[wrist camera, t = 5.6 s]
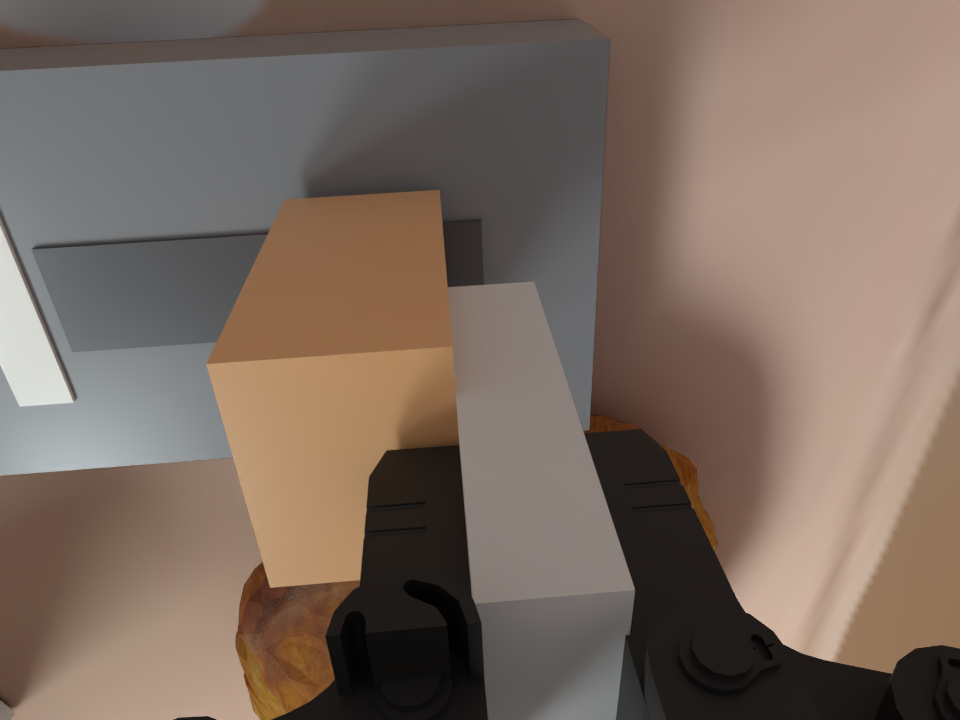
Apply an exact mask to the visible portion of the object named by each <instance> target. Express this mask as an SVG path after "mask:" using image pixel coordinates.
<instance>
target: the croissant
mask: <svg viewBox="0 0 960 720" xmlns="http://www.w3.org/2000/svg"><path fill="white" fill-rule="evenodd" d="M633 429H638V428H637V427H636V426H634V425H633V424H632V423H620V422H617V421H615V420H612V419H610V418H607V417H604V416H590V428H589V430H586V431H583V432H584V433H593V432H606V431H620V430H633ZM660 446H661V447H662V448H664V449H665V450H666V451H667V452H668V455H669V457H670V459H671V461H672V463H673V465H674V467H675V469H676V471H677V474H678V476H679V478H680V484H681V485H683V486H684V488H685V491H686V493H687V495H688V497H689V499H690V501H691V507H692V509H694V510H695V512H696V514H697V516H698V518H699V520H700V522H701V524H702V526H703V529H704V531H705V533H706V535H707V537H708V539H709V541H710V543H711V546H712V548H713V550H714V552H715V550H716V548H717V544H718V542H717V540H716V537H715V527H714V524H713V522H712V521H711V519H710V517H709V515H708V514H707V512H706V510H705V509H704V507H703V505H702V503H701V500H700V498H699V496H698V479H697V469H696V468H695V467H694V465H693V464H692V463H691V461H690V460H689V459H688V458H686V457H685V456H683V455H682V454H680V453H678V452H676V451H674V450H672V449H669V448H667V447H665V446H662V445H660ZM359 586H360V580H356V581H344V582H332V583H321V584H309V585H297V586H285V587H274V588H270V586H269V582H268V579H267V575H266V572H265V568H264V565H263V562H262V563H261V564H260V565H259V566H257V567H256V568H255V570H254V571H253V572H252V574H251V575H250V577H249V578H248V580H247V581H246V583H245V584H244V588H243V592H242V597H241V602H240V607H239V625H238V631H237V634H236V650H237V653H238V656H239V659H240V662H241V665H242V667H243V670H244V678H245V682H246V685H247V688H248V691H249V693H250V700H251V703H252V707H253V710H254V712H255V713H256V715H257V716H258V717H259V719H260V720H271V719H274V718H276V717H279V716H281V715H284V714H286V713H289V712H291V711H293V710H294V709H296V708H298V707H300V706H302V705H304V704H306V703H308V702H310V701H311V700H312V699H314V698H315V697H316V696H317V695H319V694H320V693H321V692H322V691H324V690H325V689H326V688H327V687H329V685H330V684H331V683H332V682H333V681H334V679H335V677H334V673H333V668H332V664H331V660H330V655H329V651H328V647H327V642H326V638H325V636H326V633H327V630H328V627H329V624H330V621H331V619H332V616H333V613H334V611H335V610H336V609H337V607H338V606H339V605H340V604H341V603H342V602H343V601H344V599H345V598H346V597H347V596H348V595H349V594H350V593H351V591H352V590H354V589H356V588H357V587H359Z"/></svg>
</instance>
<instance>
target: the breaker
mask: <svg viewBox="0 0 960 720" xmlns="http://www.w3.org/2000/svg"><path fill="white" fill-rule="evenodd" d="M206 365H207V369H208V372H209V376H210V379H211V383H212V386H213V390H214V393H215V397H216V400H217V404H218V407H219V411H220V414H221V418H222V421H223V425H224V428H225V432H226V435H227V439H228V442H229V446H230V449H231V453H232V456H233V460H234V463H235V467H236V470H237V474H238V477H239V481H240V484H241V488H242V491H243V495H244V498H245V502H246V505H247V509H248V512H249V516H250V519H251V523H252V526H253V530H254V533H255V537H256V540H257V544H258V547H259V551H260V554H261V558H262V561H263V565H264V568H265V572H266V575H267V579H268V582H269V586H270V588H274V587H285V586H297V585H309V584H321V583H332V582H344V581H356V580H360V576H361V565H362V553H363V541H364V538H365V533H364V529H365V517H366V512H367V507H366V506H367V494H368V482H369V476H370V475H371V473H372V471H373V470H374V468H375V467H376V465H377V464H378V462H379V461H380V459H381V458H382V456H383V455H384V453H385V452H386V450H399V449H412V448H425V447H439V446H452V445H459V436H458V420H457V405H456V389H455V375H454V360H453V346H452V334H451V321H450V309H449V297H448V285H447V273H446V261H445V249H444V237H443V224H442V212H441V200H440V190H429V191H413V192H397V193H381V194H365V195H348V196H332V197H316V198H300V199H284V201H283V203H282V205H281V208H280V210H279V212H278V214H277V216H276V218H275V220H274V222H273V224H272V226H271V229H270V231H269V233H268V235H267V237H266V239H265V241H264V243H263V245H262V248H261V250H260V252H259V254H258V256H257V258H256V260H255V262H254V264H253V267H252V269H251V271H250V273H249V275H248V277H247V279H246V281H245V283H244V286H243V288H242V290H241V292H240V294H239V296H238V298H237V300H236V302H235V305H234V307H233V309H232V311H231V313H230V315H229V317H228V319H227V321H226V324H225V326H224V328H223V330H222V332H221V334H220V336H219V338H218V340H217V342H216V345H215V347H214V349H213V351H212V353H211V355H210V357H209V359H208V361H207V364H206Z"/></svg>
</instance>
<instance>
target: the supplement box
mask: <svg viewBox="0 0 960 720" xmlns="http://www.w3.org/2000/svg"><path fill="white" fill-rule="evenodd" d="M13 715H14V711H13V710H12V709H11V708H10V707H8V706H7V705H6V704H5V703H3V702H2V701H0V720H11V719H12V717H13Z"/></svg>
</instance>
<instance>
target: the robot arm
mask: <svg viewBox="0 0 960 720" xmlns="http://www.w3.org/2000/svg"><path fill="white" fill-rule="evenodd" d="M448 297H449V309H450V321H451V334H452V346H453V360H454V375H455V389H456V405H457V420H458V436H459V445H452V446H439V447H425V448H412V449H399V450H386V452H385V453H384V455H383V456H382V458H381V459H380V461H379V462H378V464H377V465H376V467H375V468H374V470H373V471H372V473H371V475H370V476H369V482H368V494H367V506H366V507H367V512H366V517H365V529H364V533H365V538H364V541H363V553H362V565H361V576H360V586H359V587H357V588H356V589H354V590H352V591H351V593H350V594H349V595H348V596H347V597H346V598H345V599H344V601H343V602H342V603H341V604H340V605H339V606H338V607H337V609H336V610H335V611H334V613H333V616H332V619H331V621H330V624H329V627H328V630H327V633H326V636H325V638H326V642H327V647H328V651H329V655H330V660H331V664H332V668H333V673H334V677H335V679H334V681H333V682H332V683H331V684H330V685H329V687H327V688H326V689H325V690H324V691H322V692H321V693H320V694H319V695H317V696H316V697H315V698H314V699H312V700H311V701H310V702H308V703H306V704H304V705H302V706H300V707H298V708H296V709H294V710H293V711H291V712H289V713H286V714H284V715H281V716H279V717H276V718H274V719H271V720H960V649H958V648H954V647H948V646H943V645H940V646H932V647H925V648H917V649H914V650H913V651H912V652H910V653H909V654H907V655H906V656H904V657H903V658H902V659H900V660H899V661H898V662H897V664H896V666H895V669H894V671H893V674H890V673H885V672H880V671H875V670H870V669H865V668H860V667H855V666H850V665H845V664H840V663H835V662H830V661H825V660H822V659H818V658H815V657H812V656H808V655H805V654H801V653H799V652H797V651H795V650H793V649H791V648H789V647H787V646H785V645H783V644H782V643H781V641H780V640H779V639H778V637H777V636H776V635H775V633H774V632H773V631H772V630H771V629H769V628H768V627H767V626H765V625H764V624H762V623H761V622H760V621H758V620H757V619H756V618H754V617H753V616H752V615H750V614H748V613H745V611H744V610H743V608H742V606H741V605H740V603H739V602H738V600H737V598H736V596H735V594H734V592H733V590H732V588H731V586H730V584H729V581H728V579H727V577H726V575H725V573H724V571H723V569H722V567H721V565H720V562H719V560H718V558H717V556H716V554H715V552H714V550H713V548H712V546H711V543H710V541H709V539H708V537H707V535H706V533H705V531H704V529H703V526H702V524H701V522H700V520H699V518H698V516H697V514H696V512H695V510H694V509H692V507H691V501H690V499H689V497H688V495H687V493H686V491H685V488H684V486H683V485H681V484H680V478H679V476H678V474H677V471H676V469H675V467H674V465H673V463H672V461H671V459H670V457H669V455H668V452H667V451H666V450H665V449H664V448H662V447H661V446H660V445H659V444H658V443H657V442H656V441H654V440H653V439H652V438H651V437H650V436H649V435H648V434H646V433H645V432H644V431H643V430H642V429H633V430H620V431H606V432H593V433H584V432H583V429H582V426H581V423H580V420H579V417H578V414H577V411H576V408H575V405H574V402H573V399H572V395H571V392H570V389H569V386H568V383H567V380H566V377H565V374H564V371H563V368H562V365H561V362H560V359H559V356H558V353H557V350H556V347H555V344H554V340H553V337H552V334H551V331H550V328H549V325H548V322H547V319H546V316H545V313H544V310H543V307H542V304H541V301H540V298H539V295H538V292H537V289H536V285H535V282H520V283H505V284H489V285H474V286H459V287H448ZM174 720H216V719H213V718H211V717H208V716H204V717H185V718H177V719H174Z"/></svg>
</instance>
